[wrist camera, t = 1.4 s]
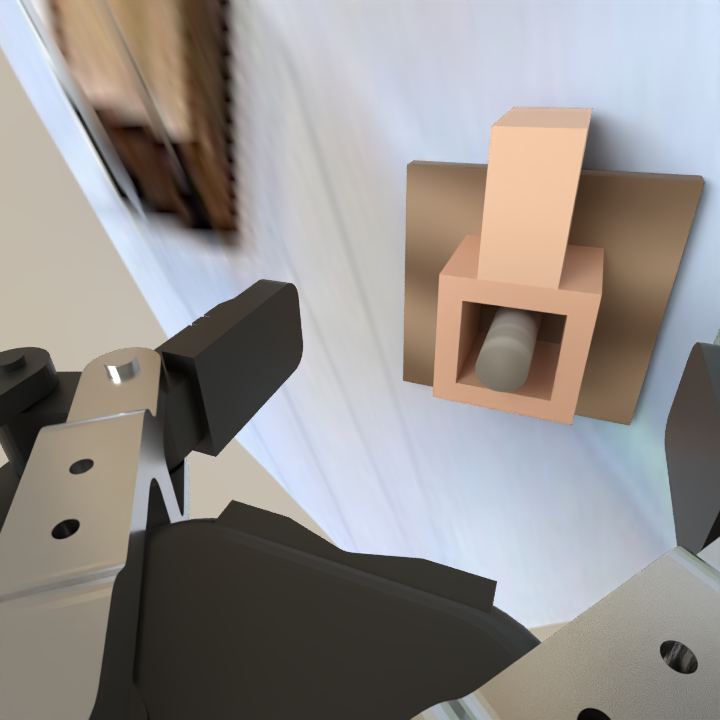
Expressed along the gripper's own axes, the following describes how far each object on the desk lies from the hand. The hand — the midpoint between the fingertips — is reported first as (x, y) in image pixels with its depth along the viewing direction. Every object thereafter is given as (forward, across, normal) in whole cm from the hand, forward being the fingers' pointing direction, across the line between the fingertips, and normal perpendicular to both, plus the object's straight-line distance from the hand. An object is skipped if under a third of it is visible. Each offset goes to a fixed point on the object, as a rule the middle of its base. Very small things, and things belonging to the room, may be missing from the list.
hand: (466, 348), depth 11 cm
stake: (+16, 0, +6) cm, 17 cm away
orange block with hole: (+15, 0, +3) cm, 15 cm away
